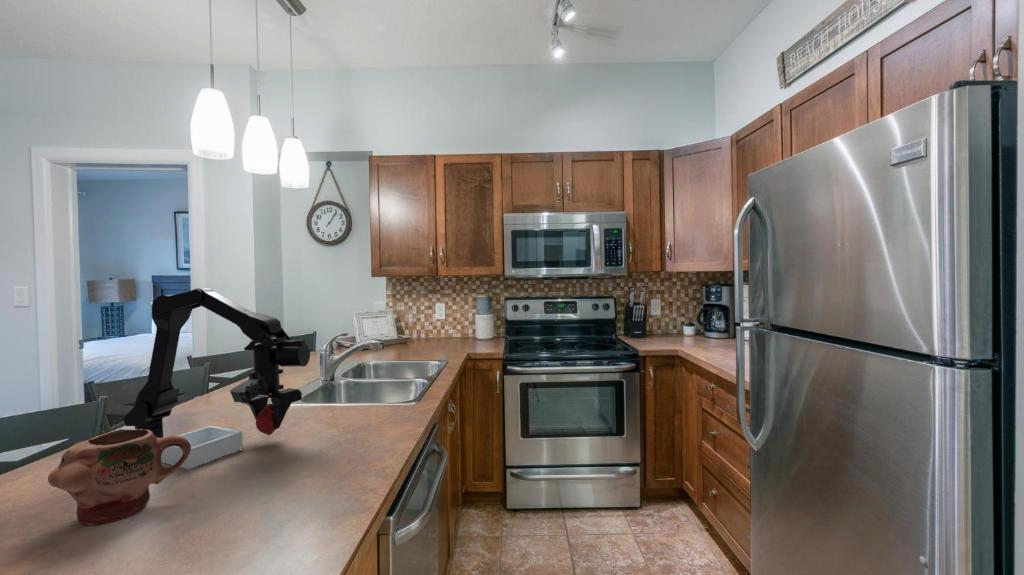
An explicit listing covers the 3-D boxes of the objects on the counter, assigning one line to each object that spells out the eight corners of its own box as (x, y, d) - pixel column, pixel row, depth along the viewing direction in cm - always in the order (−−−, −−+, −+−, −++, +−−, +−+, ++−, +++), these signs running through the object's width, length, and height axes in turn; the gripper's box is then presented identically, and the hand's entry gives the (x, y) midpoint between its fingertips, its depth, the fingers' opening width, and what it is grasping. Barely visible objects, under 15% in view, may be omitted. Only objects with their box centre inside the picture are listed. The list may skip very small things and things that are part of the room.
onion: (270, 439, 112) (269, 408, 111) (250, 438, 113) (249, 407, 113) (286, 431, 117) (285, 401, 117) (267, 430, 119) (266, 400, 118)
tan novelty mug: (188, 480, 95) (184, 415, 94) (197, 500, 86) (193, 428, 85) (53, 516, 81) (49, 441, 81) (47, 545, 72) (42, 460, 72)
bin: (156, 461, 105) (155, 442, 105) (211, 442, 117) (210, 425, 117) (188, 469, 100) (187, 449, 100) (243, 449, 112) (242, 431, 111)
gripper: (211, 370, 111) (213, 432, 112) (261, 376, 103) (264, 442, 104) (253, 362, 121) (255, 419, 122) (302, 366, 114) (304, 427, 114)
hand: (268, 427), depth 115 cm, fingers closed on onion, 6 cm apart
